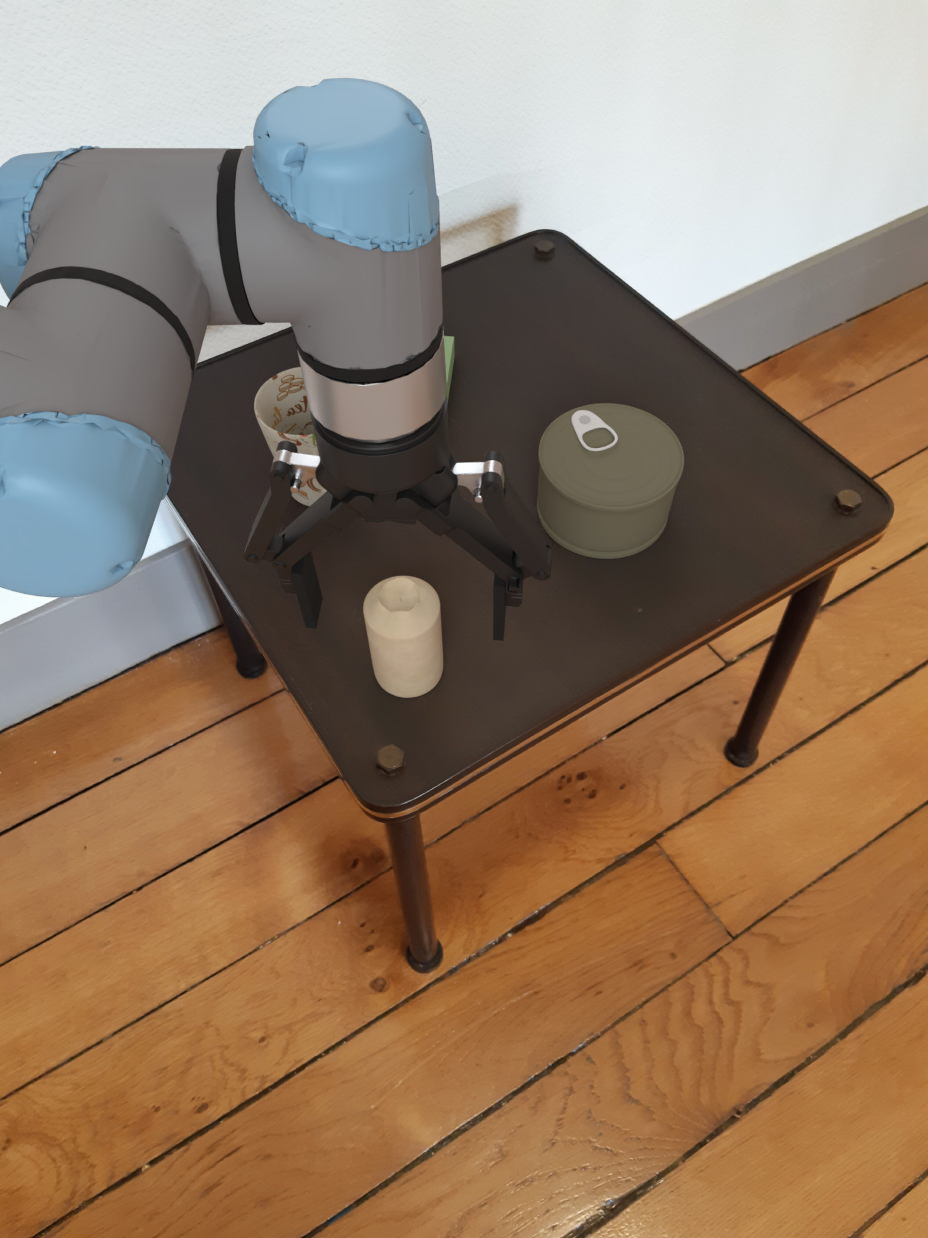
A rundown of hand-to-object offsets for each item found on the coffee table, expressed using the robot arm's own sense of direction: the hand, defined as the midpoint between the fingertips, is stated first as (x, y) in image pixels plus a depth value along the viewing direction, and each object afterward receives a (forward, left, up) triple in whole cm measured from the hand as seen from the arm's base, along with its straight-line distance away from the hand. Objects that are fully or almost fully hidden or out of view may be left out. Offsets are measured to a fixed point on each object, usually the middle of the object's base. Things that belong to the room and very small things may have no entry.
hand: (406, 619), depth 69 cm
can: (+15, +18, -7) cm, 24 cm away
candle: (0, 0, -7) cm, 7 cm away
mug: (-10, +17, -7) cm, 21 cm away
